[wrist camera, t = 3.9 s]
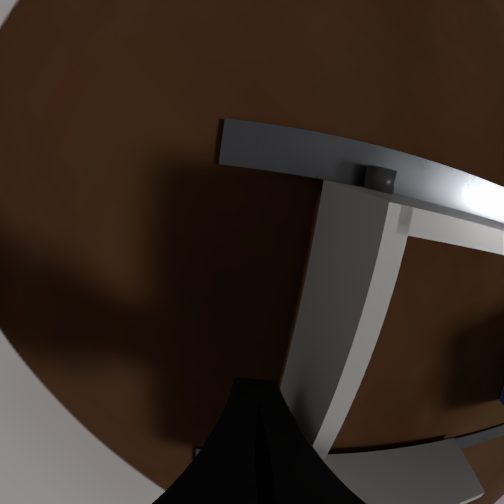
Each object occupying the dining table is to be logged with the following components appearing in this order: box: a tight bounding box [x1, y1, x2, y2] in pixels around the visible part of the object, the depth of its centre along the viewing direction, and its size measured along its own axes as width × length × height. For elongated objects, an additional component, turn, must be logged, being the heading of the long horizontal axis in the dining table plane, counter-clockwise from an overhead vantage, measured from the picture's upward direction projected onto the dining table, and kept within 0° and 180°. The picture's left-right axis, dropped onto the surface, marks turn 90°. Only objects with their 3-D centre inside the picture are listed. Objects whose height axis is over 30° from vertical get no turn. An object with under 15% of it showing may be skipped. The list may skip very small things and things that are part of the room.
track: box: [196, 119, 504, 455], centre depth 12 cm, size 16×28×1 cm, turn 82°
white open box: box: [280, 165, 504, 504], centre depth 9 cm, size 15×12×5 cm
